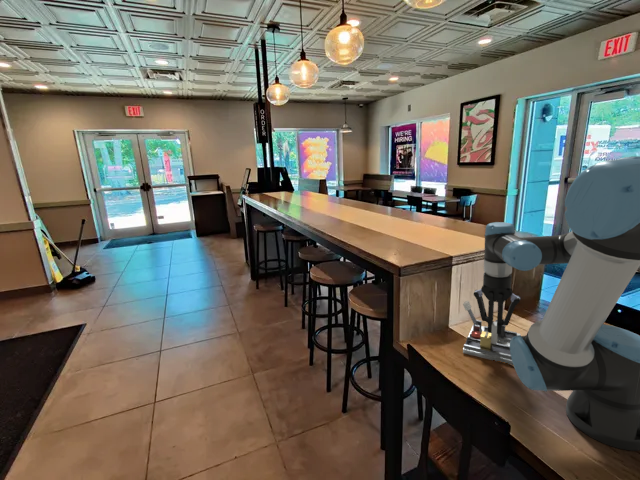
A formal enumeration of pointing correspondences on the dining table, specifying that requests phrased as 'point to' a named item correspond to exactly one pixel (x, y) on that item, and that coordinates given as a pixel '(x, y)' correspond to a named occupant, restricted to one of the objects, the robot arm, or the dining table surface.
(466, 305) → the lever
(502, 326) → the slider black
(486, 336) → the slider brass
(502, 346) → the panel
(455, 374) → the dining table surface
